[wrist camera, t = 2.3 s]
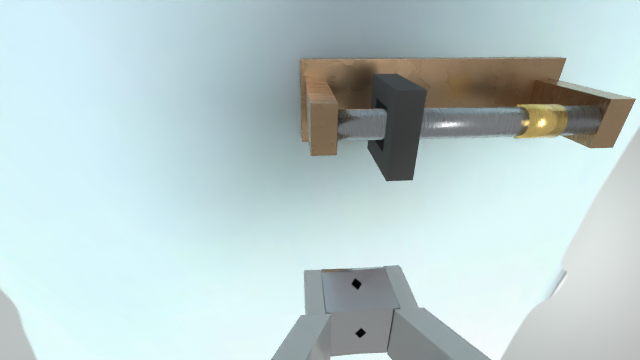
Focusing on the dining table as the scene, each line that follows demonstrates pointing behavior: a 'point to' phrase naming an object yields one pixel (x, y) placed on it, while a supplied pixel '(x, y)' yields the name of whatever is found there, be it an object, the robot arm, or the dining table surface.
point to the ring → (397, 125)
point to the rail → (458, 100)
